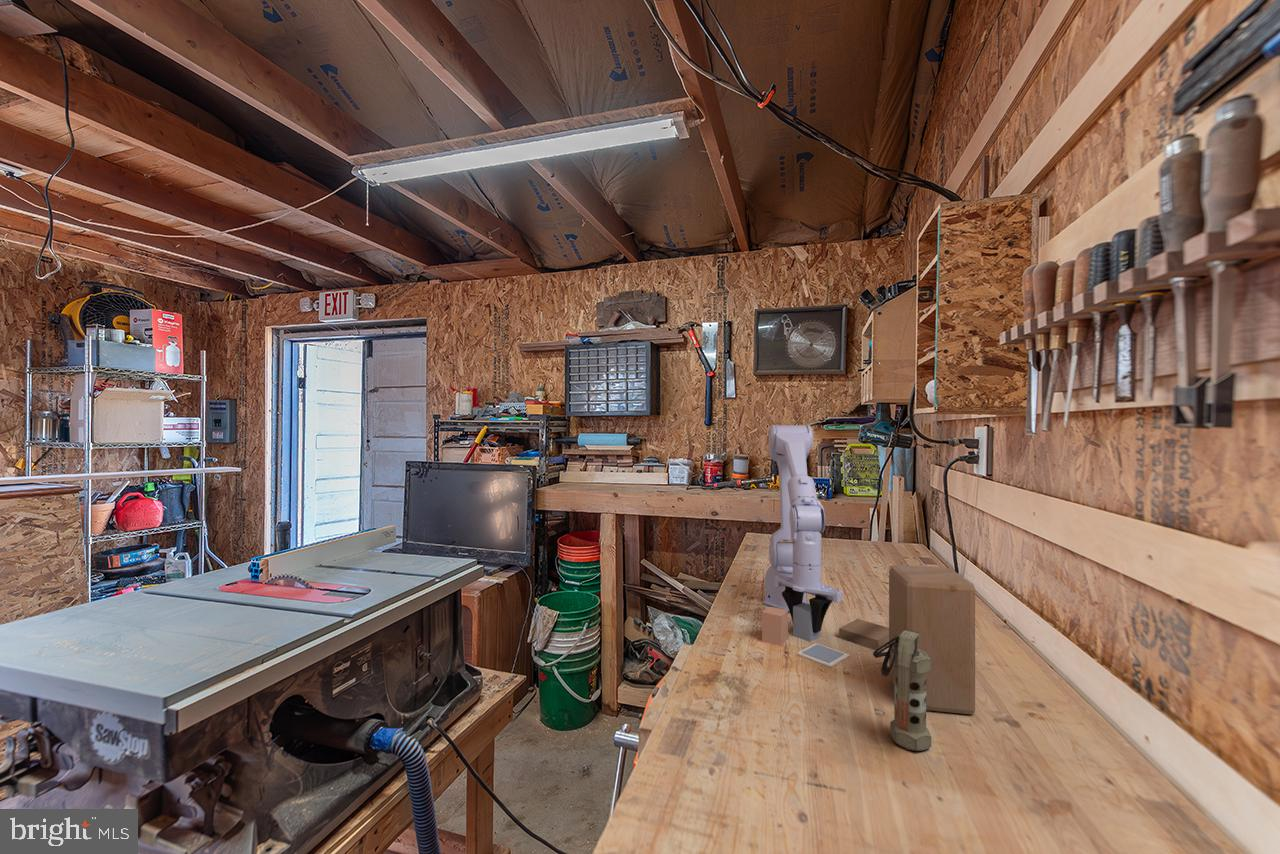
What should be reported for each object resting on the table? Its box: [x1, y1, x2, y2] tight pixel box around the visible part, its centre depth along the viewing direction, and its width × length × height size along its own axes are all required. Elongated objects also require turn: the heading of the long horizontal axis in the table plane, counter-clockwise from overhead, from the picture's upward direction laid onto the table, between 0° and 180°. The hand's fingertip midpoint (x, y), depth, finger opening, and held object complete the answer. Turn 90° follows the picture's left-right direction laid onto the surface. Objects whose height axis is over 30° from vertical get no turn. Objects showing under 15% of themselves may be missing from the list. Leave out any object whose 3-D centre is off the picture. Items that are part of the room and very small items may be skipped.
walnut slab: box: [838, 618, 889, 651], centre depth 104 cm, size 8×8×2 cm
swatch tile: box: [796, 642, 851, 668], centre depth 97 cm, size 7×7×1 cm
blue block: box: [792, 602, 822, 642], centre depth 106 cm, size 4×4×6 cm
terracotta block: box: [761, 606, 789, 647], centre depth 104 cm, size 4×4×6 cm
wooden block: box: [888, 564, 976, 715], centre depth 82 cm, size 10×10×20 cm
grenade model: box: [872, 630, 932, 752], centre depth 70 cm, size 6×7×15 cm
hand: (806, 628), depth 106 cm, fingers closed on blue block, 4 cm apart
